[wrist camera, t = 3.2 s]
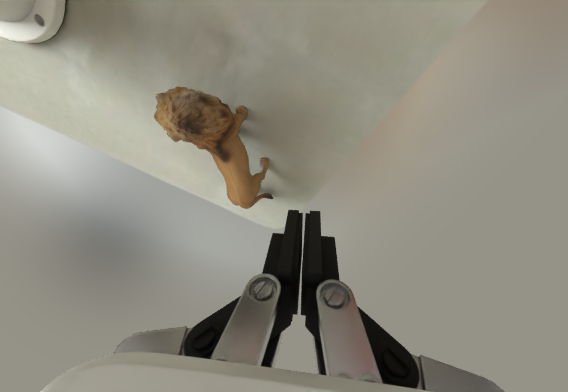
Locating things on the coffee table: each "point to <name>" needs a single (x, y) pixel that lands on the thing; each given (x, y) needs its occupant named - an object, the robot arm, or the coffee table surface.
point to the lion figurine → (213, 138)
